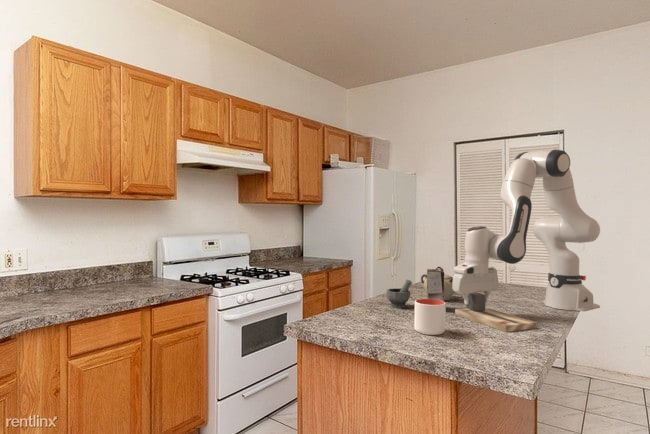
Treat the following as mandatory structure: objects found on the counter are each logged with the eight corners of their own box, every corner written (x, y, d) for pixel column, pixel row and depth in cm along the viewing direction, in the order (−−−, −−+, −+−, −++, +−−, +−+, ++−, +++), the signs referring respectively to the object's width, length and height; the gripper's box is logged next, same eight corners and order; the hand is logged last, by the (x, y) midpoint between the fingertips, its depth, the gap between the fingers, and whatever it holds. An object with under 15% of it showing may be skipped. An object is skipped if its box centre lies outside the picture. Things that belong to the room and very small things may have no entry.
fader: (474, 306, 160) (474, 291, 160) (485, 310, 154) (485, 294, 154) (466, 307, 158) (466, 292, 158) (477, 311, 153) (477, 295, 153)
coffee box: (444, 312, 160) (444, 272, 160) (427, 311, 162) (428, 271, 162) (442, 307, 169) (442, 269, 169) (426, 306, 171) (426, 268, 171)
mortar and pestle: (382, 306, 169) (382, 278, 169) (394, 303, 176) (394, 275, 176) (405, 311, 161) (405, 281, 161) (417, 307, 168) (417, 278, 168)
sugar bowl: (412, 298, 187) (413, 266, 187) (428, 293, 198) (428, 263, 198) (453, 304, 174) (453, 270, 174) (467, 299, 185) (467, 267, 185)
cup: (440, 338, 126) (440, 306, 126) (409, 332, 132) (410, 302, 132) (448, 330, 135) (449, 301, 135) (419, 325, 140) (420, 297, 140)
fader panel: (482, 311, 162) (482, 306, 162) (535, 328, 139) (536, 322, 139) (455, 314, 157) (455, 308, 157) (505, 332, 134) (505, 325, 134)
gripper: (490, 265, 163) (490, 299, 163) (450, 267, 155) (449, 303, 156) (502, 267, 157) (502, 302, 157) (461, 270, 150) (460, 306, 150)
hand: (475, 303), depth 156 cm, fingers open, 7 cm apart
